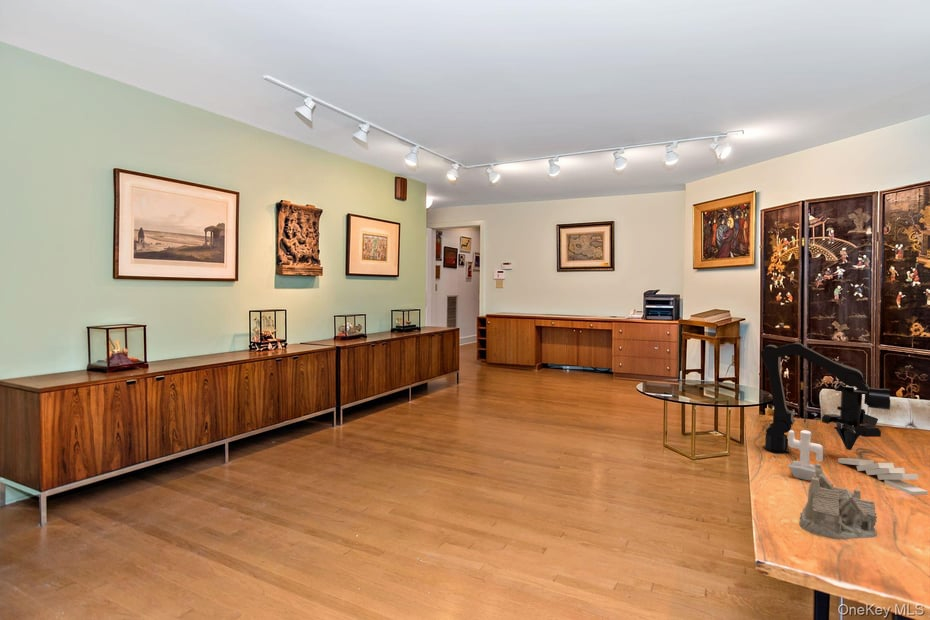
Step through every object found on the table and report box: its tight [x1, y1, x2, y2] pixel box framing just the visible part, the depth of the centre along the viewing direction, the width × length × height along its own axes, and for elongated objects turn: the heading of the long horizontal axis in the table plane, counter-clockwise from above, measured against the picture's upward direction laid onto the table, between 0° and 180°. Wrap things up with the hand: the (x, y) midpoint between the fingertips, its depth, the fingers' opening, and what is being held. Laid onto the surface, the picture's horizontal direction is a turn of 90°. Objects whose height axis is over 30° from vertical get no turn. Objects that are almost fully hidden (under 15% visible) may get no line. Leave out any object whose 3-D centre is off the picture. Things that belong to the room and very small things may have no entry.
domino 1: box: [837, 457, 875, 466], centre depth 171 cm, size 5×2×9 cm
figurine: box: [787, 429, 824, 482], centre depth 161 cm, size 7×9×15 cm
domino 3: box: [865, 467, 906, 476], centre depth 160 cm, size 5×2×9 cm
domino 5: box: [883, 480, 929, 496], centre depth 153 cm, size 5×2×9 cm
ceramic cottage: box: [799, 463, 878, 540], centre depth 127 cm, size 16×16×15 cm
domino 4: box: [876, 473, 920, 481], centre depth 155 cm, size 5×2×9 cm
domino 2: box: [855, 462, 895, 472], centre depth 163 cm, size 5×2×9 cm
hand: (848, 449), depth 174 cm, fingers closed
